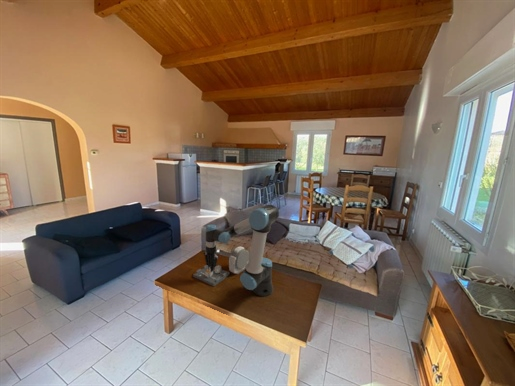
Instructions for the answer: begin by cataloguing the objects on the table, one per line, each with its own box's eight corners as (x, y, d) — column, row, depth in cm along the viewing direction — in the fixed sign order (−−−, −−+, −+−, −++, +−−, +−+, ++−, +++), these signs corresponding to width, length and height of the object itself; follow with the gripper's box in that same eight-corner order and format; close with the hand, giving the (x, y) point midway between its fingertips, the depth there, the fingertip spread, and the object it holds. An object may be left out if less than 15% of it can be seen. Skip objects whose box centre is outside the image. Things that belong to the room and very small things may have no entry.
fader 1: (212, 275, 166) (212, 269, 165) (208, 277, 162) (208, 272, 162) (209, 273, 167) (209, 268, 166) (205, 276, 164) (205, 270, 163)
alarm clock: (241, 264, 187) (242, 242, 183) (249, 267, 183) (250, 245, 178) (227, 273, 173) (227, 250, 169) (235, 277, 168) (236, 253, 164)
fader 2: (221, 271, 171) (221, 266, 170) (217, 273, 168) (217, 268, 167) (218, 270, 173) (218, 264, 172) (214, 272, 170) (214, 267, 169)
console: (229, 274, 171) (229, 270, 171) (214, 286, 156) (214, 282, 156) (209, 266, 182) (209, 262, 181) (193, 276, 167) (193, 272, 166)
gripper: (221, 246, 159) (220, 275, 163) (208, 241, 165) (208, 269, 170) (214, 249, 152) (214, 280, 157) (200, 245, 159) (201, 274, 164)
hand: (210, 274), depth 163 cm, fingers closed
